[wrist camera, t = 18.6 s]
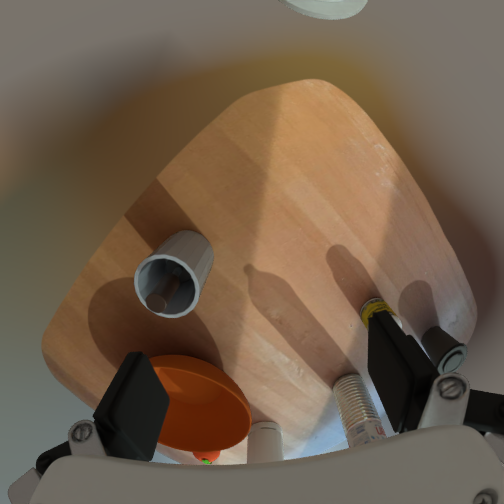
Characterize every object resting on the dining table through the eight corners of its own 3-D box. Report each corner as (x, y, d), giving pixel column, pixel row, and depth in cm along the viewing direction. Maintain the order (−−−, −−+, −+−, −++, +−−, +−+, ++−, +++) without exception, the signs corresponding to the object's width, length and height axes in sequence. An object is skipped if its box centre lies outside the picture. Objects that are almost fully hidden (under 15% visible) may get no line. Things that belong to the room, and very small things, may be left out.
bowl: (164, 421, 56) (155, 452, 47) (111, 341, 49) (90, 371, 39) (266, 410, 54) (267, 446, 44) (228, 319, 46) (222, 355, 37)
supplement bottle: (382, 291, 45) (407, 319, 35) (389, 315, 46) (411, 344, 37) (355, 305, 46) (375, 336, 36) (363, 328, 47) (382, 360, 38)
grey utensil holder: (155, 263, 44) (125, 295, 32) (177, 220, 42) (149, 241, 30) (198, 289, 45) (181, 328, 34) (223, 247, 43) (211, 278, 31)
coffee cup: (448, 315, 46) (473, 340, 37) (443, 344, 49) (465, 371, 39) (417, 327, 47) (441, 356, 38) (414, 357, 49) (434, 386, 40)
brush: (170, 262, 43) (133, 307, 28) (181, 240, 42) (146, 279, 27) (192, 275, 43) (164, 325, 29) (204, 254, 42) (179, 299, 28)
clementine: (226, 447, 59) (224, 468, 52) (201, 448, 59) (198, 469, 53) (216, 431, 56) (212, 454, 50) (189, 432, 57) (185, 454, 50)
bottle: (270, 417, 54) (274, 528, 28) (288, 432, 56) (297, 533, 30) (241, 428, 56) (235, 532, 29) (260, 442, 58) (260, 539, 31)
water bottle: (363, 389, 52) (398, 481, 28) (333, 398, 52) (358, 495, 29) (362, 368, 50) (404, 466, 26) (330, 377, 51) (360, 482, 27)
